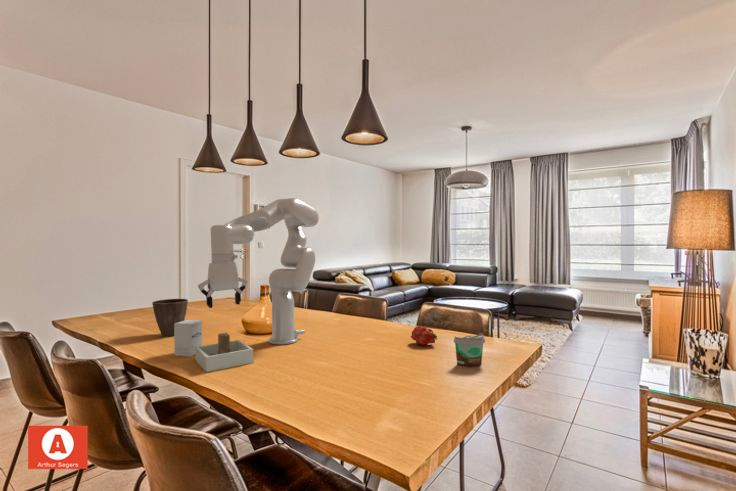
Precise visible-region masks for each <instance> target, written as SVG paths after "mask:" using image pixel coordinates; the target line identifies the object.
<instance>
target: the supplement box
mask: <svg viewBox="0 0 736 491" xmlns="http://www.w3.org/2000/svg"><path fill="white" fill-rule="evenodd" d="M173 337H174V338H173V339H174V356H175V357H188V358H189V357H192V356H195V347H198V346H203V320H201V319H185V320H184V321H181V322H178V323H175V324H174V336H173Z"/></svg>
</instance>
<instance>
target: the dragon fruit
mask: <svg viewBox="0 0 736 491" xmlns="http://www.w3.org/2000/svg"><path fill="white" fill-rule="evenodd" d="M410 338H411V340H413V341H415V342H416V345H423V346H424V347H431V346H432V345H430V344H435V343H436V340H438V336H437V334H435V333H434V331H433V330H432V329H431V328H428V327H427V326H425V325H423V326H422V325H418V326H415V327H414V328H413V330H412V331H411V336H410Z"/></svg>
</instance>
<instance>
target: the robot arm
mask: <svg viewBox="0 0 736 491" xmlns="http://www.w3.org/2000/svg"><path fill="white" fill-rule="evenodd" d="M319 218H320V217H319V213H318V211H317V209H316V208H314V207H312V206H310V205H309V204H308V203H306V202H304V201H303V200H300V199H298V198H295V197H294V198H293V197H291V198H279V199H275V200H274V201H271V202H270V203H268V204H267V205H265V206H263V207H261V208H259V209H257V210H255V211H252V212H249V213H246V214H243V215H241V216H239V217H236V218H233V219H232V220H230V221H229V222H226V223H225V224H214V225H211V227H210V249H211V250H210V251H211V252H210V253H211V254H210V255H211V258H210V259H211V262H210V263H208V268H207V279H206V280H205V281H202V282H200V283H199V284H197V288H198V289H199V290H200V293H202V295H204V296H205V298H206V306H207V307H208V308H209V309H212V308H213V306H214V305H213V296H212V295H213V294H214V292H218V291H228V290H229V291H230V290H234V291H235V293H234V302H235V303H234V304H235V305H240V304H241V301H242V298H241V294H242V293H243V291H244V290H245V289H246V286H247V284H248V280H246V279H244V278H241V277H239V272H238V267H237V263H236V261H235V259H238V258H239V256H238V255H237V254H235V253H234V245H247V244H249V243H251V242H252V241H253V240H254V238H255V232H262V231H264V230H268V229H270V228H272V227H273V226H275V225H276V224H278V223H279V222H281V221H282V220H284V224H285V226H286V228H287V233H288V237H287V240H286V243H285V246H284V248H283V250H282V253H281V257H280V263H281V265H282V266H283V268H276V269H274V270H272V271H271V273H270V275H269V277H268V282H269V283H268V284H269V288H270V295H271V333H272V334H271V335H272V336H271V337H269V338H268V343H269V344H271V345H290V344H294V343H296V342H298V341H299V337H298V336H299V335H305V333H306V331H305V329H296V328H295V298H294V295H293V292H298V293H299V292H303V291H304V290H305V289H306V288H307V287H308V284H309V282H310V279H311V276H312V273H313V270H314V268H315V264H316V253H315V251H314V250H313V249H312V248H311V247H308V246H306V244H307V236H306V232H305V231H304V230H303V228H311V227H315V226H316V225H318V223H319V220H320V219H319ZM240 283H242V284H241V286H240V287H239V285H240ZM206 286H207V290H205V287H206Z"/></svg>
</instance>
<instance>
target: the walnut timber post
mask: <svg viewBox="0 0 736 491" xmlns="http://www.w3.org/2000/svg"><path fill="white" fill-rule="evenodd" d="M230 339H231V338H230V334H229V333H227V332H224V333H218V334H217V343H218V354H224V353H229V352H230V341H231V340H230Z"/></svg>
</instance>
